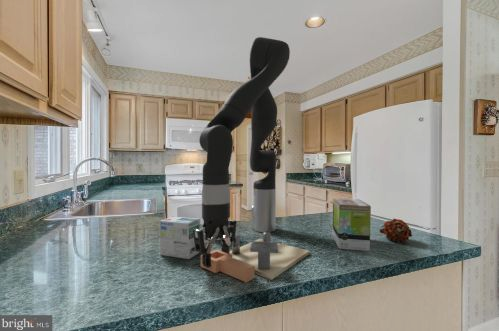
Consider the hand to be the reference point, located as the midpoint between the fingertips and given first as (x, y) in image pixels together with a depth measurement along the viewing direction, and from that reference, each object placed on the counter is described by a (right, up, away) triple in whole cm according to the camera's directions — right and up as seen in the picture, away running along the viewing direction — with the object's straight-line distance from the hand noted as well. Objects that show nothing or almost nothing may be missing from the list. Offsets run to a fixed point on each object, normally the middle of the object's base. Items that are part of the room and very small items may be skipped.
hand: (216, 262), depth 66 cm
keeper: (+13, 0, -1) cm, 13 cm away
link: (+3, -1, -3) cm, 5 cm away
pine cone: (+62, -1, +22) cm, 65 cm away
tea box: (+44, -1, +20) cm, 48 cm away
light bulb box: (-13, -1, +10) cm, 16 cm away
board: (+13, -1, +7) cm, 15 cm away
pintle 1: (+5, -1, +7) cm, 9 cm away
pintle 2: (+14, -1, +11) cm, 18 cm away
